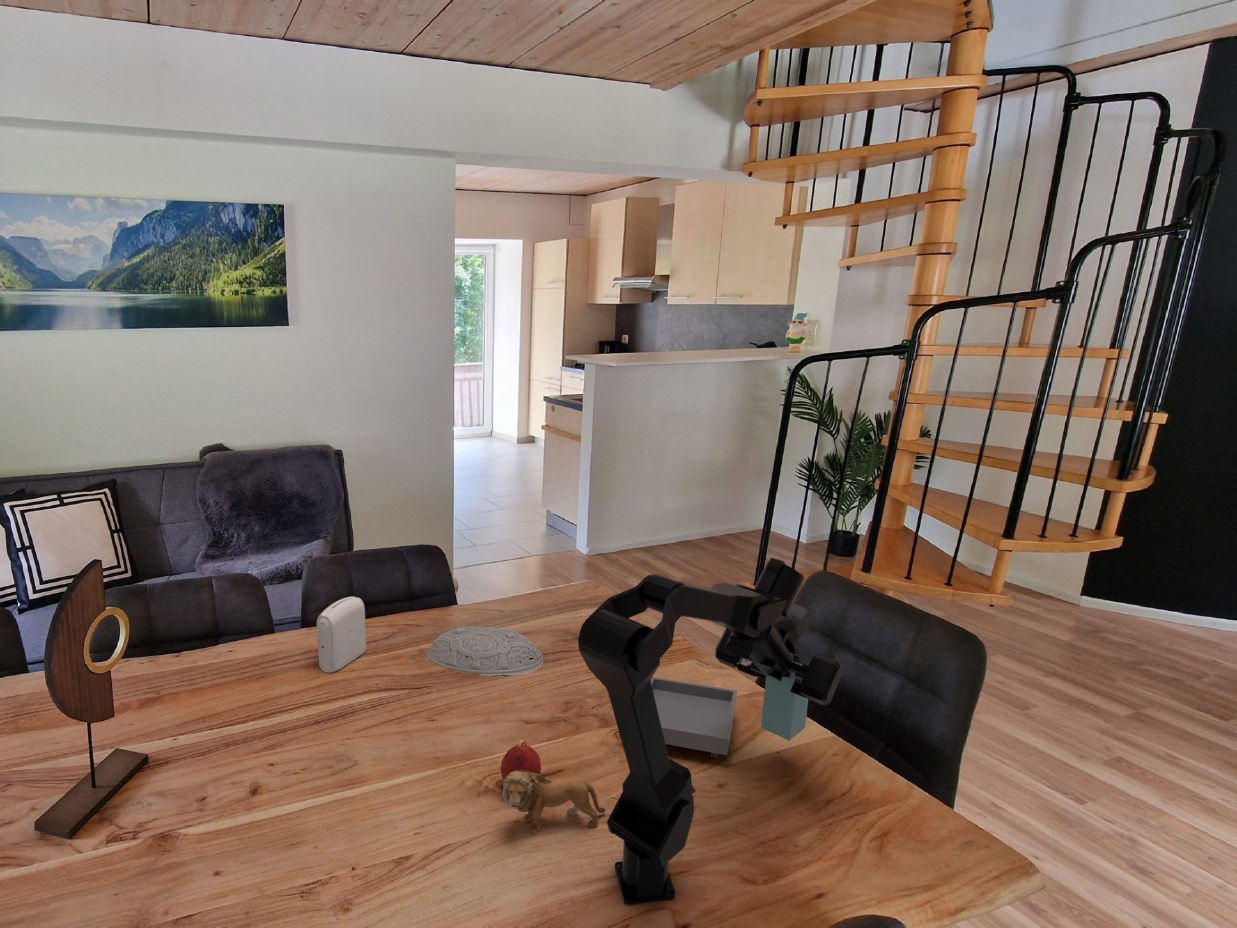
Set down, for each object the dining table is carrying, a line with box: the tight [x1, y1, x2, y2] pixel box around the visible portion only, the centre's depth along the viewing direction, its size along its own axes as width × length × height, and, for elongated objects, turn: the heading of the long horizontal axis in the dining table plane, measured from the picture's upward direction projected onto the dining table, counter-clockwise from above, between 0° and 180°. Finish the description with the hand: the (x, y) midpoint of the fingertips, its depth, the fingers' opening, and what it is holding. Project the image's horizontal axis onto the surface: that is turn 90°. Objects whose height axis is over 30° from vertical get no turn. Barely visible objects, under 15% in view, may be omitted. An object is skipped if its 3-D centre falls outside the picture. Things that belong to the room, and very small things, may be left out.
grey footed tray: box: [651, 676, 738, 759], centre depth 126 cm, size 15×15×5 cm
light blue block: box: [760, 661, 809, 741], centre depth 117 cm, size 5×5×11 cm
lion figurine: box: [502, 770, 607, 835], centre depth 103 cm, size 15×5×9 cm, turn 109°
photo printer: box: [316, 596, 367, 674], centre depth 144 cm, size 10×4×12 cm, turn 160°
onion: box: [500, 739, 542, 781], centre depth 109 cm, size 6×6×8 cm
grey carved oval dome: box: [426, 625, 544, 677], centre depth 149 cm, size 16×25×7 cm, turn 82°
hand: (791, 683), depth 117 cm, fingers closed on light blue block, 5 cm apart
